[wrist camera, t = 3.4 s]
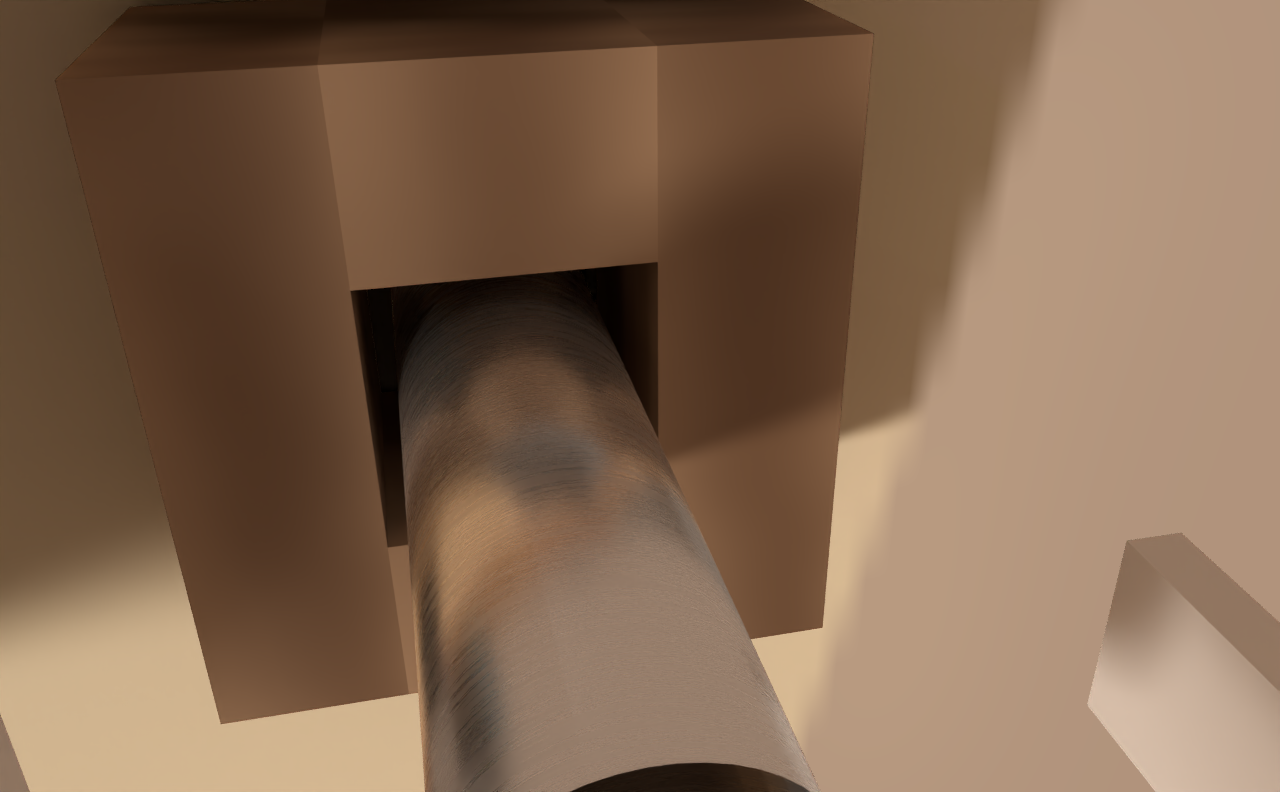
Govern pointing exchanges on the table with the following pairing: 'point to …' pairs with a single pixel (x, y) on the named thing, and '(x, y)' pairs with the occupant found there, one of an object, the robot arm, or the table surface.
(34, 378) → the table surface
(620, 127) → the wooden square socket block
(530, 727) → the pin
